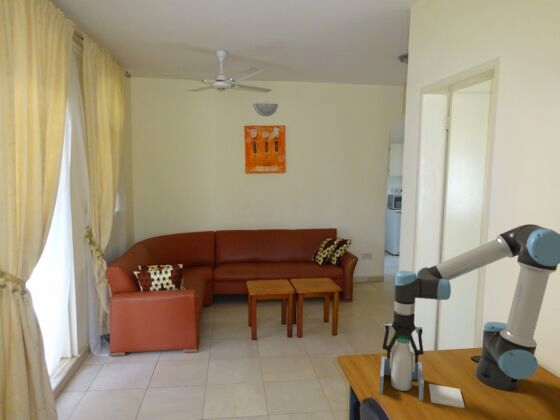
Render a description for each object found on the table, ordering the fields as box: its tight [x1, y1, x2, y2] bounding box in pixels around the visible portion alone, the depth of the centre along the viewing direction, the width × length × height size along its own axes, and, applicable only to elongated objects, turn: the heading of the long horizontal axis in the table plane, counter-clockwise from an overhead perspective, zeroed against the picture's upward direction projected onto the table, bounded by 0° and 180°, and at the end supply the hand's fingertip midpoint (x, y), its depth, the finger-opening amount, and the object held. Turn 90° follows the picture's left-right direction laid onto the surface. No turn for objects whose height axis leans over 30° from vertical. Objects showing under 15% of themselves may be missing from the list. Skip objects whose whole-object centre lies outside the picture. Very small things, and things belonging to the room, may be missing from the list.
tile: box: [428, 383, 465, 409], centre depth 141 cm, size 11×11×1 cm
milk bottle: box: [390, 336, 413, 392], centre depth 146 cm, size 8×8×20 cm
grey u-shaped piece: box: [378, 356, 425, 402], centre depth 147 cm, size 15×15×7 cm
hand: (401, 368), depth 146 cm, fingers closed on milk bottle, 8 cm apart
